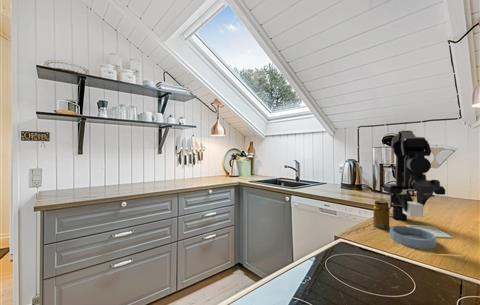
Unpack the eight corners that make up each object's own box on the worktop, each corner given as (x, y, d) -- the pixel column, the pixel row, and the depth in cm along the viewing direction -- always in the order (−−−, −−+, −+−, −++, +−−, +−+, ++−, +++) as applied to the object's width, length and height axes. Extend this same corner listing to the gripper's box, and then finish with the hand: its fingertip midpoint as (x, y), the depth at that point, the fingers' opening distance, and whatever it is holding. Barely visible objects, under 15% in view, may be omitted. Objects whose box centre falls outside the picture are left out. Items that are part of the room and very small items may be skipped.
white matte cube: (402, 212, 89) (402, 201, 88) (415, 213, 88) (415, 201, 88) (409, 216, 84) (410, 204, 84) (423, 216, 84) (423, 204, 83)
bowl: (382, 233, 94) (383, 225, 94) (419, 235, 93) (419, 226, 92) (402, 249, 80) (402, 239, 80) (446, 251, 79) (446, 241, 79)
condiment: (374, 224, 105) (374, 198, 105) (396, 228, 100) (396, 201, 99) (370, 228, 100) (370, 201, 100) (393, 233, 94) (393, 205, 94)
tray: (406, 227, 102) (406, 225, 101) (430, 228, 100) (430, 225, 100) (424, 238, 90) (424, 235, 90) (452, 239, 88) (452, 236, 88)
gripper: (399, 173, 79) (398, 217, 79) (458, 173, 76) (457, 219, 77) (382, 169, 90) (382, 208, 90) (434, 170, 87) (433, 209, 88)
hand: (412, 211), depth 86 cm, fingers closed on white matte cube, 4 cm apart
